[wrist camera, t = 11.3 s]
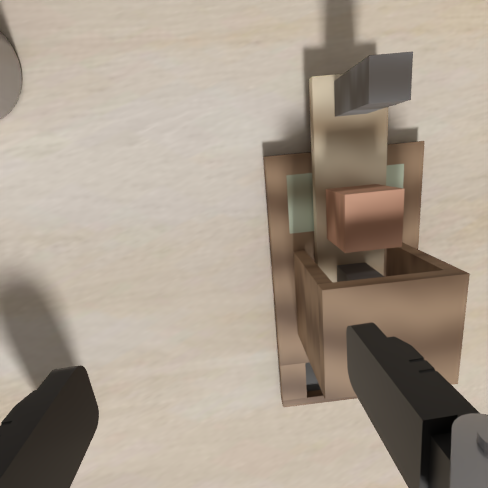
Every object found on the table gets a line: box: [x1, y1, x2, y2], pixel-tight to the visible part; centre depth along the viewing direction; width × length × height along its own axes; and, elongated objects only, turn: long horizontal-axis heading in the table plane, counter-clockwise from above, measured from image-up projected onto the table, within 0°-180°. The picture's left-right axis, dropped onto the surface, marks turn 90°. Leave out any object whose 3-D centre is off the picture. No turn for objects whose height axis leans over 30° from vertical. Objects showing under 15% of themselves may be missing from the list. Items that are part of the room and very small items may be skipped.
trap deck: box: [264, 141, 469, 407], centre depth 30 cm, size 30×16×11 cm, turn 5°
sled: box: [309, 52, 413, 282], centre depth 27 cm, size 21×7×8 cm, turn 5°
